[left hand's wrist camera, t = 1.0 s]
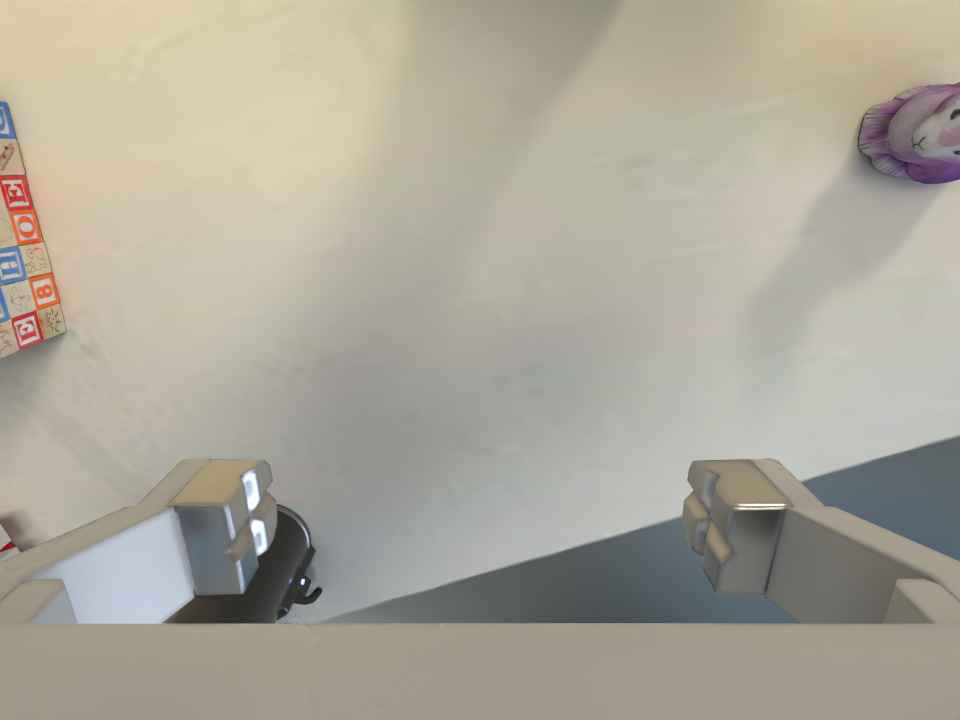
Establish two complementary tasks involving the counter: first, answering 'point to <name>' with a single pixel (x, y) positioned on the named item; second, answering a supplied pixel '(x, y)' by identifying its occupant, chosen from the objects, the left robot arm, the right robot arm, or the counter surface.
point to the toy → (6, 546)
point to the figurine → (916, 135)
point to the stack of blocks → (22, 257)
